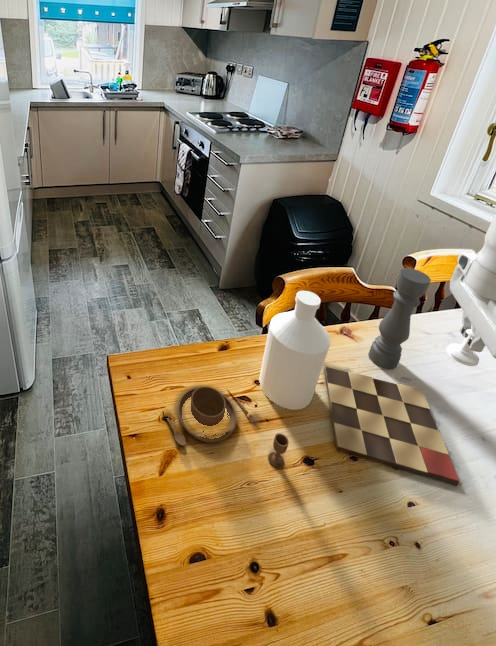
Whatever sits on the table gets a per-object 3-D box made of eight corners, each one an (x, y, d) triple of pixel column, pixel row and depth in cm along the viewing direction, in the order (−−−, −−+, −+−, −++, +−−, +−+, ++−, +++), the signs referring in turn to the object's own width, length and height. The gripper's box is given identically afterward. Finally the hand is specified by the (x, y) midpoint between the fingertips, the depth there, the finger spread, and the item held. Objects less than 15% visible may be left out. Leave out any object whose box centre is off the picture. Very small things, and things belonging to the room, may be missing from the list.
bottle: (281, 418, 82) (307, 325, 71) (247, 373, 92) (265, 286, 81) (325, 400, 86) (355, 310, 75) (287, 359, 96) (309, 275, 85)
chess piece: (449, 342, 79) (468, 302, 74) (480, 356, 75) (502, 315, 71) (443, 355, 75) (463, 314, 71) (476, 370, 72) (498, 329, 68)
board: (420, 393, 88) (422, 389, 87) (457, 486, 71) (460, 481, 70) (323, 370, 93) (325, 365, 93) (336, 450, 76) (337, 446, 75)
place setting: (223, 380, 90) (226, 361, 87) (289, 463, 73) (295, 442, 71) (155, 408, 83) (157, 388, 80) (211, 507, 66) (215, 486, 64)
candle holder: (391, 374, 93) (427, 288, 83) (364, 358, 97) (394, 274, 87) (400, 360, 97) (435, 276, 86) (373, 345, 101) (404, 264, 91)
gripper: (560, 326, 58) (520, 392, 64) (494, 255, 76) (466, 311, 82) (509, 316, 60) (474, 381, 66) (455, 248, 78) (431, 304, 83)
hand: (469, 341), depth 74 cm, fingers closed on chess piece
